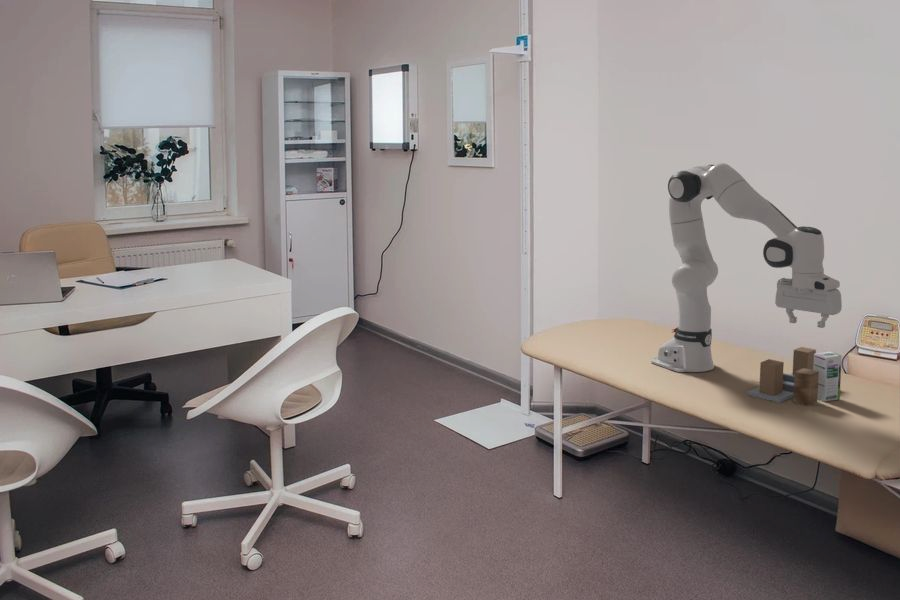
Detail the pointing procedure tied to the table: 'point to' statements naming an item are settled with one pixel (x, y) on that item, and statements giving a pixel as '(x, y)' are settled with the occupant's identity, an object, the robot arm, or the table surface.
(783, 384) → the grey base with blocks
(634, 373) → the table surface
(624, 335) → the table surface
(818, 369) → the syrup box
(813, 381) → the block
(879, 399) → the table surface
